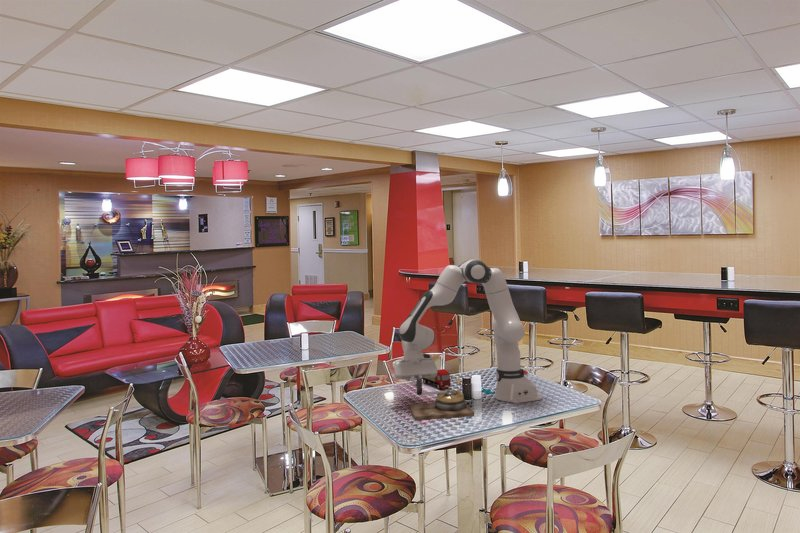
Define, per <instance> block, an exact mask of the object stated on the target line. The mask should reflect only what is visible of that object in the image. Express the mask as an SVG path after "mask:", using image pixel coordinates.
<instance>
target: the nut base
mask: <svg viewBox="0 0 800 533" xmlns="http://www.w3.org/2000/svg"><path fill="white" fill-rule="evenodd" d="M408 409H409V411H410V413H411V415H412V417H413V419H414V420H415V421H424V420H434V419H435V420H436V419H437V420H438V419H439V420H440V419H449V418H465V417H466V418H467V417H475V412H474V410H472V408H471V407H470V406H469V405H468V404H467V400H466V399H465V398H464V401H463V402H462V403H459V404H442V403H439V402H437V398H436V399H435V400H434V402H429V403H427V402H426V403H413V404H412V403H411V404H408Z"/></svg>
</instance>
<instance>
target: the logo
mask: <svg viewBox="0 0 800 533" xmlns="http://www.w3.org/2000/svg"><path fill="white" fill-rule="evenodd" d="M455 380H458V381H456V384H458V383H459V385H462V384H461V380H462V379H460V378H454V379H453V381H455ZM482 389H483V390H482V391H483V393H485V394H487V395H495V393H496V392H494V391H491V390H490V389H489V388H488V389H486V388H483V387H482ZM482 391H481V392H482Z"/></svg>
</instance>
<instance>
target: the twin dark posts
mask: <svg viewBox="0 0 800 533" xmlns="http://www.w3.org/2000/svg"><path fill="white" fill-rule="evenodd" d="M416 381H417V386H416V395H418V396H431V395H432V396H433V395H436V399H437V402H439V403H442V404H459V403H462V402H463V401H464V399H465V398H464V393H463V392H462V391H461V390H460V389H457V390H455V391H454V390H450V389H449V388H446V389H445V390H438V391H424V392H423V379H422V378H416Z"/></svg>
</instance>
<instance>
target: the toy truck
mask: <svg viewBox="0 0 800 533" xmlns="http://www.w3.org/2000/svg"><path fill="white" fill-rule="evenodd" d="M452 379H453V377H452V376H451V374H450V373H449V371H448V370H446V369H444V368H442V369H437V376H436V377H429V378H422V385H424V386H425V385H428V383H430V384H433V385H435V387H436V389H437V390H438V391H440V390H442V389H449V388H450V387H451V380H452Z"/></svg>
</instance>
